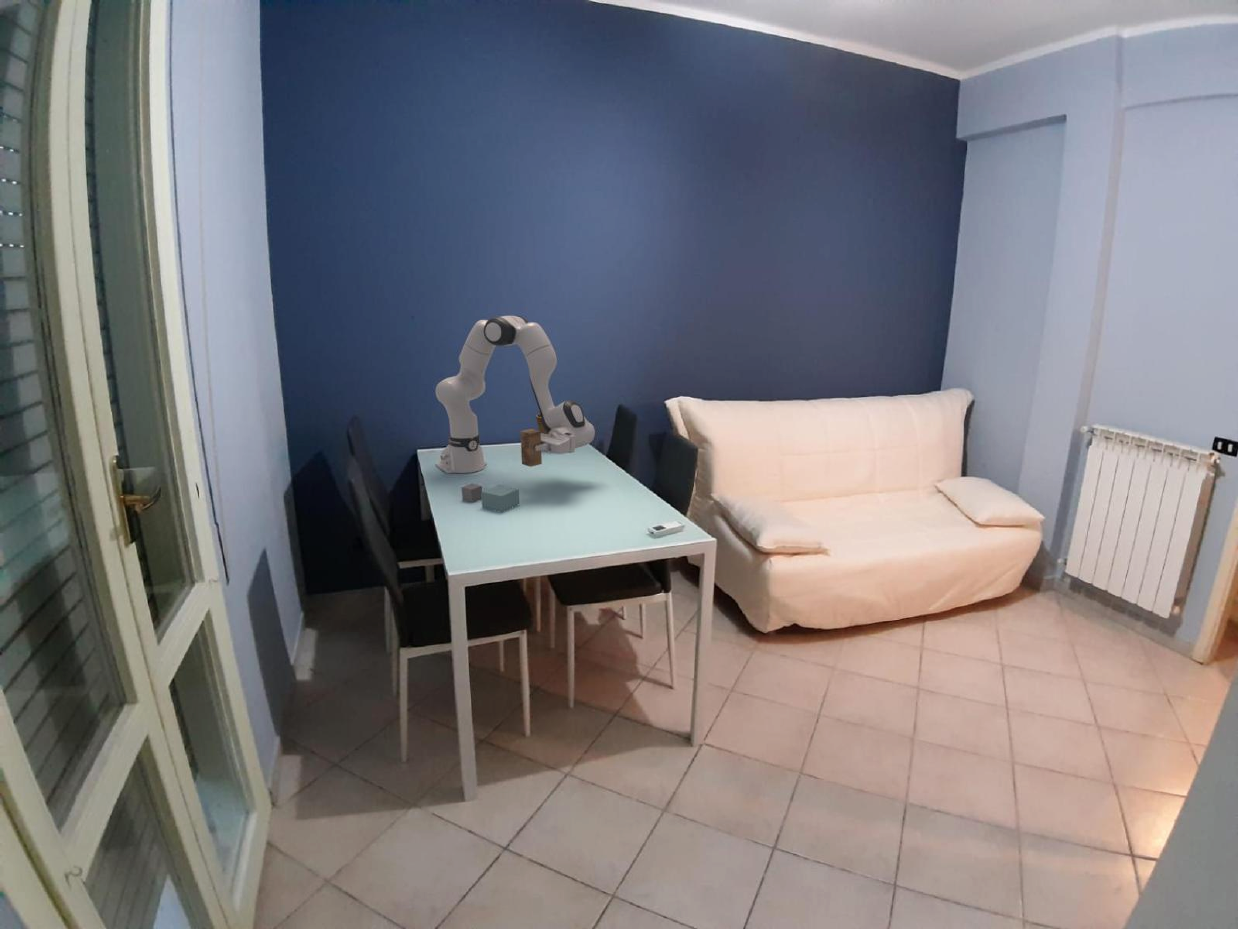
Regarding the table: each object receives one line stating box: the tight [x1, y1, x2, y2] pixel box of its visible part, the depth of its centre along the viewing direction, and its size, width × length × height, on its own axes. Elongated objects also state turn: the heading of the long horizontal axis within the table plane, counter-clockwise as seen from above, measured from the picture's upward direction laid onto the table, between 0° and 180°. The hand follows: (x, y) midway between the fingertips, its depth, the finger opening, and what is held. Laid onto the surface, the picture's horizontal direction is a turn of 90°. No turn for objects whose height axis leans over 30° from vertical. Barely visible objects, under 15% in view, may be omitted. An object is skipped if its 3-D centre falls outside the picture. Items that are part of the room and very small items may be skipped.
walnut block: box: [519, 428, 543, 468], centre depth 216 cm, size 5×5×12 cm
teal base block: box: [481, 484, 520, 513], centre depth 211 cm, size 9×9×6 cm
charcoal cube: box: [461, 483, 483, 504], centre depth 218 cm, size 5×5×5 cm
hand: (529, 446), depth 216 cm, fingers closed on walnut block, 5 cm apart
